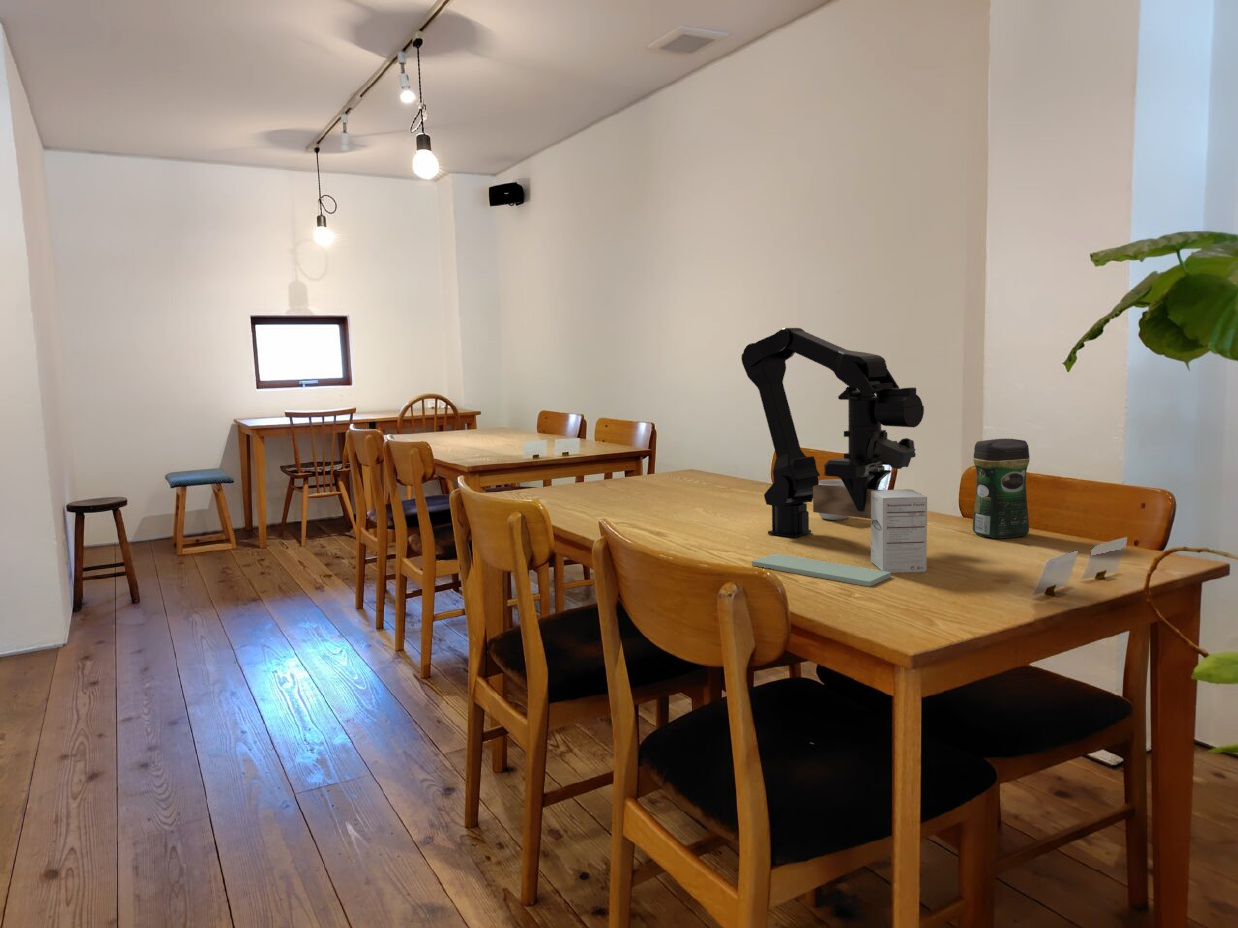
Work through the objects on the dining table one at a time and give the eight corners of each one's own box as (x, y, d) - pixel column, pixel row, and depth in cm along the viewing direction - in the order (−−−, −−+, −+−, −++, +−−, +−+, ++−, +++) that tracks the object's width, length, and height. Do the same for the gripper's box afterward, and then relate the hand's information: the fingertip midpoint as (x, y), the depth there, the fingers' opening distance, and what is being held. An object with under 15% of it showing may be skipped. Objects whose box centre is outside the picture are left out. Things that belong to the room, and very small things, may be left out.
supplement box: (869, 562, 144) (869, 489, 142) (913, 561, 143) (913, 488, 142) (881, 573, 136) (882, 497, 135) (927, 572, 136) (928, 495, 134)
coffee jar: (1009, 528, 166) (1011, 435, 163) (1035, 537, 158) (1038, 439, 156) (964, 532, 164) (966, 438, 162) (989, 540, 156) (991, 442, 154)
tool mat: (751, 565, 144) (751, 561, 144) (774, 557, 149) (774, 553, 149) (869, 586, 129) (869, 581, 129) (890, 577, 134) (890, 572, 134)
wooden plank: (813, 512, 159) (813, 486, 158) (820, 510, 161) (820, 484, 160) (914, 523, 145) (914, 495, 144) (920, 521, 147) (920, 493, 146)
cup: (860, 523, 176) (861, 486, 175) (822, 525, 176) (822, 487, 175) (847, 514, 186) (847, 478, 185) (811, 515, 187) (811, 479, 186)
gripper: (881, 431, 139) (881, 523, 141) (930, 422, 152) (930, 506, 154) (822, 428, 146) (822, 516, 148) (874, 420, 160) (873, 501, 162)
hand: (864, 510), depth 153 cm, fingers closed on wooden plank, 2 cm apart
